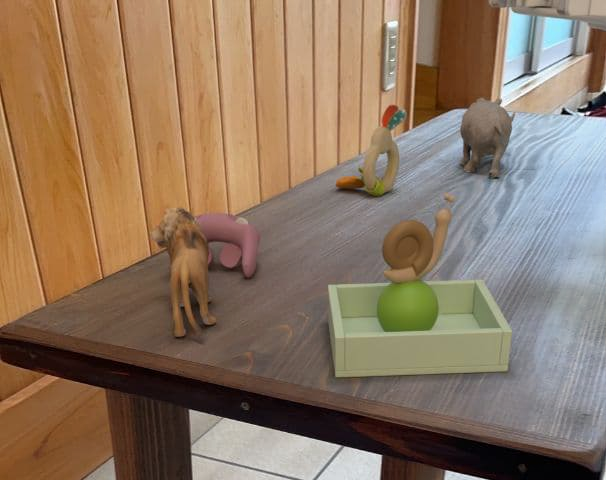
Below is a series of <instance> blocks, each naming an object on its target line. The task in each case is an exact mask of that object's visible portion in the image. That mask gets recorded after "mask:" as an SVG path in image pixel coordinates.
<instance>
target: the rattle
mask: <svg viewBox="0 0 606 480" xmlns="http://www.w3.org/2000/svg"><path fill="white" fill-rule="evenodd" d="M406 120H407V112H406V109H403V108H400V107H399V106H398V105H397V104H388V106H387V107H386V108H385V110H384V112H383V114H382V117H381V126H378V127H377V128H375V129H374V130H373V132H372V135H371V138H370V145H369V148H368V149H367V152H366V154H365V156H364V160H363V166H359V167H358V172H359V173H360V174H361V175H360V177H359V176H356V175H352V176H351V175H350V176H344V177H339V178H338V180H336V182H335V187H336V188H338V189H342V190H354V189H362V188H364V189H365V191H366V192H367V194H369V195H371V196H374V197H379V196H382V195H384V194H385V193H389V192H391V191H392V190H393V189H394V186H395V181H396V179H397V176H398V172H399V168H400V152H399V147H398V145H397V143H396V141H394V140H393V136H392V132H391V131H393V130H394V129H396V127H398V126H399V125H400V124H402V123H403V122H404V121H406ZM384 154H386V157H387V163H386V168H385V172H384V175H383V176H381V178H378V177H377V176H376V165H377V161H378V159H379V157H380V155H384Z"/></svg>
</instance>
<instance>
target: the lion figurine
mask: <svg viewBox="0 0 606 480" xmlns="http://www.w3.org/2000/svg"><path fill="white" fill-rule="evenodd" d="M163 217H164V218H163V219H162V220H161V221H160V222H159V224H158V225H157V226H156V227H154V228H153V229H151V231H150V232H149V235H150V236H151V237H152V240H153V242H154V243H156V244H157V247H158V248H159V249H164V248H166V252H167V254H168V259H169V258H170V262H171V264H172V266H171V272H170V279H169V280H170V281H169V293H170V301H171V305H172V318H173V322H174V328H175V329H174V330H173V335H174V337H176V338H180V337H184V336H186V334H187V331H186V329H185V326H184V321H183V319H184V318H183V314H182V308H184V310H185V314H186V317H187V319H188V321H189V323H190V325H191V327H192V328H193V330H194V332H195V336H196V337H198V338H199V339H204V338H206V334H205V332H204V331H203V329H202V327H201V326H200V325H199V324H198V323H197V321H196V319H195V317H194V314H193V311H192V307H191V301H190V294H189V293H190V291H189V289H190V290H191V291H192V293H193V295H194V296H195V298H196V300H197V302H198V304H199V314H200V317H201V318H202V321H203V324H204V325H206V326H207V325H208V326H213V325H214V324H216V323H217V319H216V317H214V316H213V315H210V312H209V306H208V303H211V302H212V299H213V298H212V297H211V296H210V295H209V288H210V287H209V285H210V283H209V281H210V280H209V279H210V272H209V267H208V256H209V248H208V244H209V243H208V244H207V239H206V237H205V236H204V235H203V233H202V230H201V227H200V226H199V224H198V223H197V222H196V221H195V218H194V215H192V213H191V212H190V211H188V210H186V209H185V208H183V207H179V206H173V207H169V208H165V209H164V215H163Z"/></svg>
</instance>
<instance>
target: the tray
mask: <svg viewBox="0 0 606 480" xmlns="http://www.w3.org/2000/svg"><path fill="white" fill-rule="evenodd" d="M423 281H424V280H423ZM424 282H425V283H427V284H428V285H429V286H430V287H431V288H432V289H433V291H434V292H435V294H436V297H437V300H438V305H439V311H438V317H437V320H436V322H435V324H434V326H433V327H432V329H431V330H430V331H405V332H385V331H384V330H383V329H382V327H381V326H380V324H379V321H378V318H377V303H378V299H379V297H380V295H381V293H382V291H383V290H384V289H385V288H386V287H387V286H388V285H389V284H390V283H391V282H373V283H371V282H370V283H346V284H345V283H344V284H343V283H341V284H328V285H327V323H328V331H329V340H330V347H331V353H332V355H331V356H332V362H333V363H332V364H333V369H334V376H335V378H358V377H359V378H360V377H388V376H389V377H390V376H415V375H442V374H443V375H444V374H445V375H446V374H469V373H471V374H472V373H473V374H474V373H498V372H499V373H501V372H508V371H509V363H510V356H511V347H512V338H513V329H512V328H511V326H510V325H509V323H508V321H507V320H506V318H505V316H504V314H503V312H502V311H501V309H500V307H499V305H498V303H497V302H496V300H495V299H494V297H493V295H492V293H491V292H490V290H489V288H488V287H487V285H486V283H485V282H484V280H483V279H458V280H456V279H455V280H453V279H452V280H428V281H424Z"/></svg>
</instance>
